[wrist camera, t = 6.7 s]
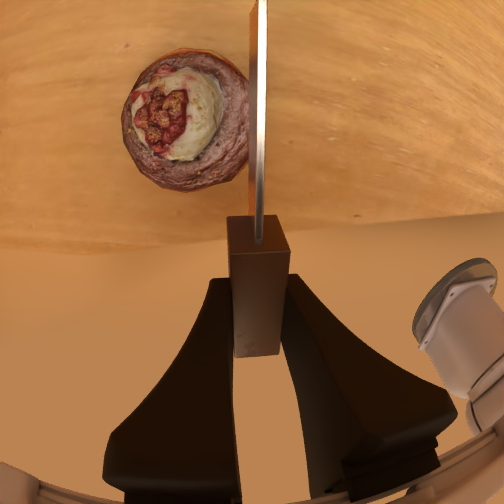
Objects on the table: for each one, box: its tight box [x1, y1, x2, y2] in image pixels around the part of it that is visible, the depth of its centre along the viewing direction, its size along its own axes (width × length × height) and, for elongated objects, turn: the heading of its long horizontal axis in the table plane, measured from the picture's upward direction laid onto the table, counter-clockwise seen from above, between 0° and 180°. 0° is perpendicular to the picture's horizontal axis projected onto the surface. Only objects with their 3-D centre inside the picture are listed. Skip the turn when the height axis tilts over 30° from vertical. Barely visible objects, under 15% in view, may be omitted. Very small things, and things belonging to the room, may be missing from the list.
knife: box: [226, 0, 291, 358], centre depth 9 cm, size 12×2×2 cm, turn 0°
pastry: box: [121, 48, 249, 193], centre depth 13 cm, size 8×8×5 cm
